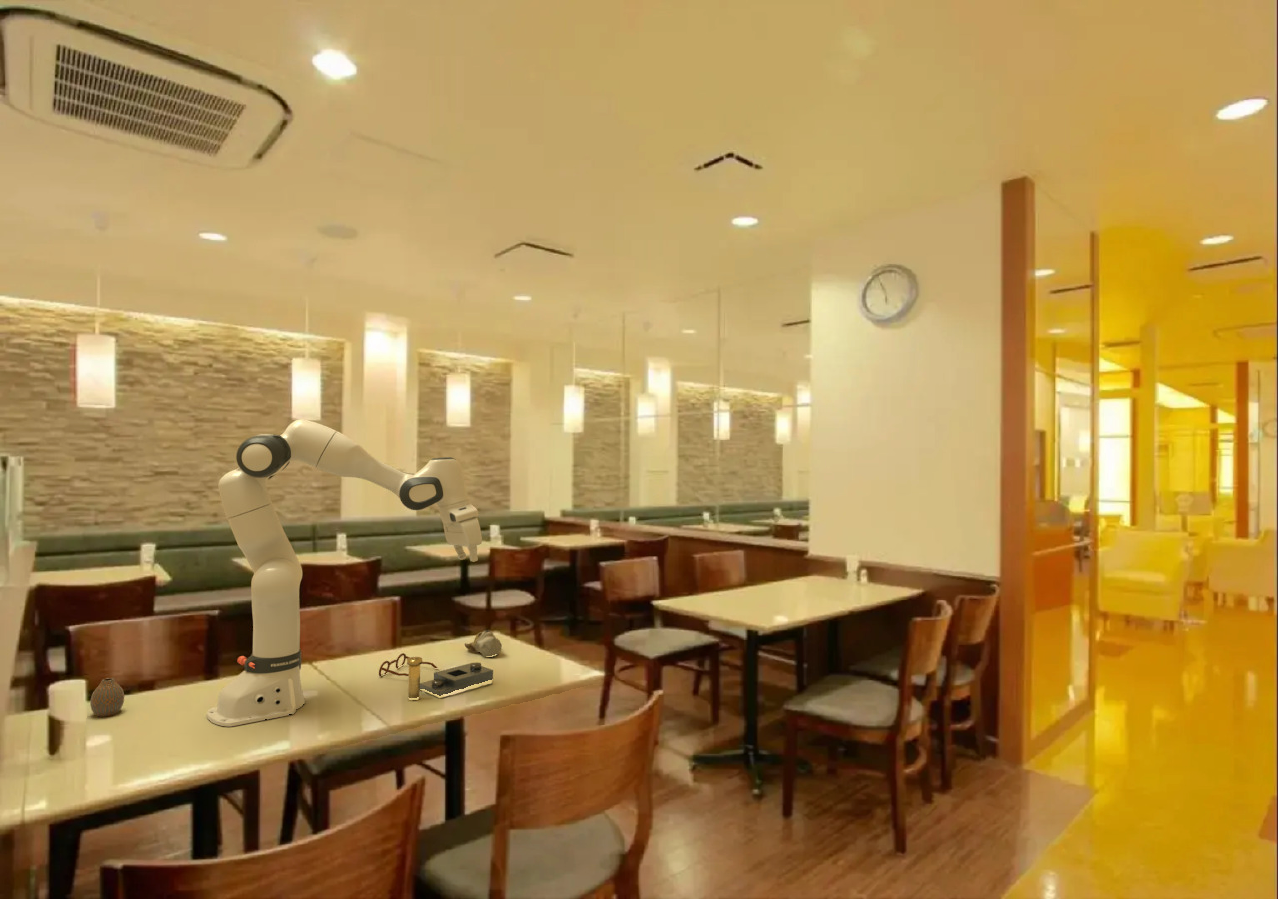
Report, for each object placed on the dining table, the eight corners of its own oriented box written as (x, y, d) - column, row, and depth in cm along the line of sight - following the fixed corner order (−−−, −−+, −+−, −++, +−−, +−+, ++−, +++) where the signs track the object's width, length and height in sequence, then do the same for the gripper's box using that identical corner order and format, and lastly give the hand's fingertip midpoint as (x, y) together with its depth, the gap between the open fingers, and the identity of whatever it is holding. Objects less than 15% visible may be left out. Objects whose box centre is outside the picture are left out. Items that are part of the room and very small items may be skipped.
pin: (411, 702, 195) (412, 662, 195) (403, 699, 197) (404, 659, 197) (424, 699, 198) (425, 659, 198) (416, 695, 200) (417, 656, 200)
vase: (84, 720, 178) (85, 684, 178) (97, 710, 184) (98, 675, 184) (117, 718, 180) (117, 682, 180) (128, 708, 186) (129, 674, 186)
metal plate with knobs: (440, 699, 198) (440, 680, 198) (419, 690, 205) (420, 672, 205) (492, 683, 212) (493, 666, 212) (472, 676, 218) (472, 658, 218)
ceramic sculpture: (478, 634, 233) (462, 626, 245) (478, 661, 232) (462, 652, 245) (509, 630, 239) (492, 623, 251) (509, 657, 238) (492, 649, 251)
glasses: (403, 667, 227) (403, 651, 227) (440, 671, 223) (440, 655, 223) (377, 679, 214) (377, 663, 214) (416, 684, 211) (416, 667, 211)
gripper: (434, 515, 209) (446, 561, 210) (457, 516, 192) (470, 566, 193) (455, 509, 213) (466, 554, 214) (479, 509, 196) (492, 558, 197)
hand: (468, 560), depth 203 cm, fingers open, 8 cm apart
